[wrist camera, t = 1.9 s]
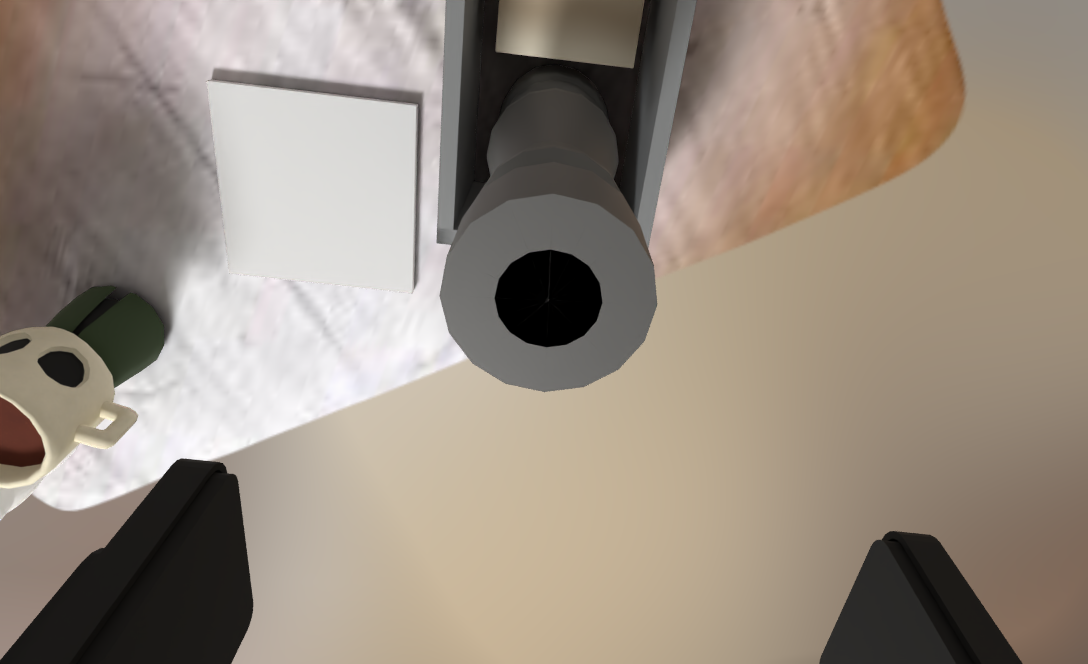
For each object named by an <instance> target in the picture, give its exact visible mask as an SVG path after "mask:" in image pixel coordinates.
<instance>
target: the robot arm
mask: <svg viewBox="0 0 1088 664" xmlns="http://www.w3.org/2000/svg"><path fill="white" fill-rule="evenodd" d="M252 613H253V598H252V589H251V582H250V573H249V565H248V557H247V549H246V541H245V533H244V525H243V517H242V509H241V501H240V493H239V486H238V480H237V477H236V475H234V474H227V470H226V467H225V466H224V464H223V463H220V462H212V461H202V460H192V459H179V460H177V461H176V462H175V463H174V464H173V465H172V466H171V467H170V468H169V469H168V471H167V472H166V473H165V474H164V475H163V477H162V478H161V479H160V480H159V482H158V483H157V484H156V485H155V487H154V488H153V489H152V490H151V492H150V493H149V494H148V495H147V497H146V498H145V499H144V500H143V501H142V503H141V504H140V505H139V506H138V507H137V509H136V510H135V511H134V512H133V514H132V515H131V516H130V517H129V519H128V520H127V521H126V522H125V524H124V525H123V526H122V527H121V528H120V530H119V531H118V532H117V533H116V535H115V536H114V537H113V538H112V539H111V541H110V542H109V543H108V545H107V546H106V547H105V548H101V549H98V550H96V551H94V552H92V553H91V554H90V555H89V556H88V557H87V558H86V559H85V560H84V561H83V562H82V563H81V564H80V565H79V566H78V567H77V569H76V570H75V571H74V572H73V573H72V575H71V576H70V577H69V578H68V579H67V581H66V582H65V583H64V584H63V586H62V587H61V588H60V589H59V590H58V592H57V593H56V594H55V595H54V596H53V597H52V599H51V600H50V601H49V602H48V603H47V605H46V606H45V607H44V608H43V609H42V611H41V612H40V613H39V614H38V615H37V617H36V618H35V619H34V620H33V622H32V623H31V624H30V625H29V626H28V628H27V629H26V630H25V631H24V632H23V634H22V635H21V636H20V637H19V639H17V641H16V642H15V643H14V644H13V645H12V647H11V648H10V649H9V650H8V652H7V653H6V654H5V655H4V656H3V658H2V659H1V660H0V664H231V663H232V661H233V659H234V657H235V655H236V652H237V650H238V648H239V646H240V644H241V642H242V640H243V638H244V636H245V634H246V632H247V630H248V627H249V624H250V621H251V618H252ZM820 664H1022V662H1021V661H1020V659H1019V658H1018V656H1017V655H1016V653H1015V652H1014V650H1013V649H1012V647H1011V646H1010V645H1009V643H1008V642H1007V640H1006V639H1005V637H1004V636H1003V634H1002V633H1001V631H1000V630H999V628H998V627H997V625H996V624H995V623H994V621H993V620H992V618H991V617H990V615H989V614H988V612H987V611H986V610H985V608H984V606H983V605H982V604H981V602H980V600H979V599H978V598H977V596H976V595H975V593H974V592H973V590H972V589H971V587H970V586H969V584H968V583H967V581H966V580H965V579H964V577H963V576H962V574H961V573H960V571H959V570H958V568H957V567H956V565H955V564H954V562H953V561H952V559H951V558H950V556H949V555H948V554H947V552H946V551H945V549H944V548H943V546H942V545H941V543H940V542H939V541H938V540H937V539H936V538H935V537H933V536H931V535H925V534H916V533H907V532H897V531H890V532H888V533H887V534H885V536H884V537H883V539H882V540H876V541H875V542H874V543H873V544H872V546H871V548H870V550H869V552H868V554H867V556H866V559H865V561H864V563H863V565H862V567H861V570H860V572H859V574H858V576H857V579H856V581H855V583H854V585H853V587H852V589H851V592H850V594H849V596H848V599H847V600H846V603H845V605H844V607H843V609H842V612H841V614H840V616H839V618H838V620H837V622H836V625H835V627H834V629H833V631H832V633H831V636H830V638H829V640H828V642H827V645H826V647H825V649H824V651H823V653H822V655H821V659H820Z"/></svg>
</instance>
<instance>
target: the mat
mask: <svg viewBox="0 0 1088 664" xmlns="http://www.w3.org/2000/svg"><path fill="white" fill-rule="evenodd" d="M206 82H207V91H208V99H209V108H210V116H211V125H212V133H213V142H214V150H215V158H216V167H217V175H218V184H219V192H220V201H221V209H222V218H223V226H224V235H225V243H226V252H227V260H228V269H229V274H237V275H247V276H256V277H265V278H274V279H283V280H293V281H302V282H311V283H320V284H330V285H339V286H348V287H357V288H366V289H376V290H385V291H394V292H403V293H413V291H414V270H415V225H416V181H417V137H418V104H414V103H405V102H397V101H388V100H380V99H371V98H363V97H355V96H346V95H338V94H329V93H321V92H312V91H304V90H296V89H287V88H279V87H270V86H262V85H253V84H245V83H237V82H228V81H220V80H208V81H206Z"/></svg>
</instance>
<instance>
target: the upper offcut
mask: <svg viewBox="0 0 1088 664" xmlns="http://www.w3.org/2000/svg"><path fill="white" fill-rule="evenodd" d="M643 6H644V0H499V9H498V24H497V38H496V52H502V53H510V54H518V55H526V56H535V57H543V58H551V59H560V60H568V61H576V62H584V63H593V64H601V65H609V66H618V67H626V68H634V62H635V56H636V49H637V43H638V37H639V31H640V25H641V19H642V12H643Z"/></svg>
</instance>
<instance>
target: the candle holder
mask: <svg viewBox="0 0 1088 664" xmlns="http://www.w3.org/2000/svg"><path fill="white" fill-rule="evenodd" d="M487 161H488V166H489V172H490V178H489V179H488V181H487V182H486V184H485V185H484V187H483V188H482V189H481V191H480V193H479V194H478V196H477V197H476V199H475V200H474V202H473V203H472V205H471V206H470V207H469V209H468V210H467V212H466V213H465V215H464V216H463V218H462V220H461V222H460V225H459V227H458V230H457V232H456V235H455V237H454V240H453V242H452V245H451V247H450V250H449V252H448V255H447V258H446V264H445V269H444V275H443V280H442V286H441V291H440V299H441V303H442V307H443V311H444V315H445V319H446V323H447V326H448V330H449V333H450V335H451V336H452V337H453V339H454V340H455V341H456V342H457V344H458V345H459V346H460V348H461V349H462V350H463V352H464V353H465V354H466V356H467V357H468V358H469V359H470V361H471V362H472V363H473V364H474V365H476V366H478V367H479V368H481V369H483V370H484V371H486V372H487V373H489V374H491V375H492V376H494V377H496V378H497V379H499V380H500V381H502V382H504V383H506V384H509V385H515V386H519V387H524V388H528V389H533V390H538V391H543V392H547V391H555V390H564V389H572V388H579V387H584V386H587V385H589V384H590V383H593V382H594V381H596V380H599V379H601V378H602V377H605V376H607V375H609V374H610V373H612V372H614V371H616V370H618V369H619V368H620V367H621V366H622V365H623V364H624V363H625V362H626V360H628V359H629V357H630V356H631V355H632V354H633V353H634V352H635V351H636V350H637V349H638V348H639V347H640V345H641V344H642V343H643V342H644V341H645V338H646V335H647V333H648V330H649V327H650V324H651V321H652V318H653V316H654V312H655V310H656V307H657V296H656V285H655V274H654V265H653V262H652V259H651V256H650V253H649V250H648V247H647V244H646V241H645V238H644V235H643V232H642V229H641V226H640V224H639V222H638V220H637V219H636V217H635V215H634V213H633V212H632V210H631V208H630V206H629V205H628V203H627V201H626V199H625V198H624V196H623V194H622V193H621V192H620V190H619V188H618V186H617V185H616V183H615V181H614V177H615V173H616V170H617V166H618V163H619V160H618V151H617V141H616V135H615V133H614V131H613V129H612V127H611V125H610V124H609V120H608V111H607V108H606V106H605V103H604V101H603V99H602V97H601V95H600V93H599V92H598V90H597V88H596V86H595V84H594V82H592V81H591V80H590V79H588V78H587V77H586V76H585V75H583V74H582V73H581V72H580V71H578V70H577V69H574V68H570V67H566V66H562V65H558V64H553V65H547V66H541V67H535V68H534V69H532V70H531V71H529V72H528V73H526V74H525V75H523V76H522V77H520V78H519V79H517V81H516V82H515V84H514V85H513V87H512V88H511V90H510V91H509V93H508V94H507V96H506V97H505V100H504V102H503V104H502V106H501V111H500V116H499V120H498V121H497V123H496V124H495V126H494V127H493V129H492V131H491V137H490V142H489V147H488V152H487Z"/></svg>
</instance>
